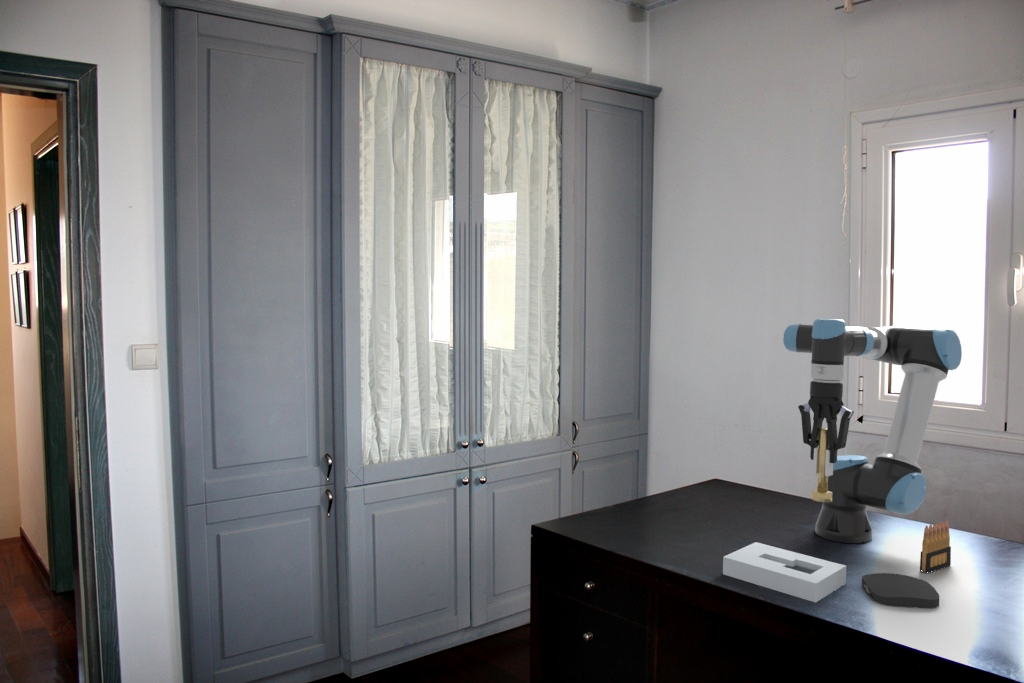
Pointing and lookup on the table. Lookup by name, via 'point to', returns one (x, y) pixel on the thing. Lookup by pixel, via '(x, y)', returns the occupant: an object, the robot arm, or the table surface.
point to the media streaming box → (900, 590)
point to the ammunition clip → (935, 547)
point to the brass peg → (822, 470)
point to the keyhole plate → (785, 571)
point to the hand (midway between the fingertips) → (822, 474)
